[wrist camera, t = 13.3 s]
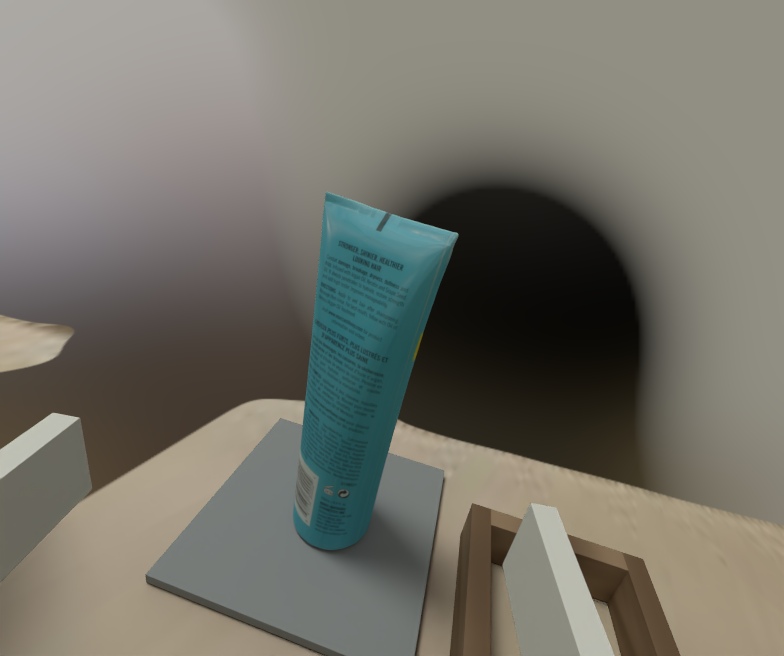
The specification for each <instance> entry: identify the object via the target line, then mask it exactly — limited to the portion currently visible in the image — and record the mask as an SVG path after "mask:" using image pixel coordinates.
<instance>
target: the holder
mask: <svg viewBox="0 0 784 656" xmlns="http://www.w3.org/2000/svg"><path fill="white" fill-rule="evenodd" d="M522 521H523V520H522V519H519V518H516V517H513V516H510V515H507V514H504V513H501V512H498V511H495V510H492V509H489V508H486V507H483V506H479V505H476V504H473V503H472V506H471V509H470V511H469V514H468V517H467V519H466V522H465V525H464V527H463V530H462V533H461V536H460V547H459V558H458V569H457V581H456V592H455V603H454V614H453V626H452V637H451V648H450V656H490V623H491V562H492V563H495V564H498V565H501V566H503V562H504V560H505V558H506V556H507V554H508V551H509V549H510V547H511V545H512V543H513V540H514V538H515V536H516V534H517V532H518V529H519V527H520V525H521V523H522ZM567 536H568V539H569V541H570V544H571V546H572V549H573V551H574V554H575V556H576V559H577V562H578V564H579V567H580V569H581V572H582V574H583V577H584V579H585V582H586V584H587V587H588V589H589V592H590V595H591V597H593V598H596V599H599V600H602V601H604V602H607V603H608V607H609V611H610V614H611V618H612V622H613V626H614V630H615V633H616V637H617V641H618V645H619V648H620V652H621V656H680V654H679V651H678V648H677V646H676V643H675V641H674V638H673V635H672V633H671V630H670V628H669V625H668V623H667V620H666V617H665V615H664V612H663V610H662V607H661V605H660V602H659V599H658V597H657V594H656V592H655V589H654V586H653V584H652V581H651V579H650V576H649V574H648V571H647V568H646V566H645V563H644V561H643V559H641V558H638V557H635V556H632V555H629V554H626V553H622V552H619V551H616V550H613V549H610V548H607V547H604V546H601V545H598V544H595V543H592V542H589V541H586V540H583V539H580V538H577V537H574V536H571V535H568V534H567Z"/></svg>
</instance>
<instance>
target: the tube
mask: <svg viewBox="0 0 784 656" xmlns="http://www.w3.org/2000/svg"><path fill="white" fill-rule="evenodd" d="M457 238H458V233H454V232H450V231H447V230H442V229H439V228H436V227H433V226H429V225H426V224H422V223H419V222H415V221H412V220H409V219H405V218H401V217H399V216H396V215H392V214H389V213H387V212H384V211H381V210H378V209H375V208H372V207H369V206H367V205H365V204H362V203H359V202H356V201H354V200H351V199H348V198H345V197H342V196H338V195H335V194H332V193H329V192H326V196H325V205H324V213H323V226H322V237H321V248H320V259H319V270H318V279H317V290H316V300H315V311H314V321H313V332H312V342H311V352H310V361H309V370H308V381H307V391H306V400H305V409H304V419H303V428H302V437H301V446H300V455H299V464H298V473H297V482H296V491H295V500H294V510H293V520H294V525H295V527H296V530H297V532H298V533H299V535H300V536H301V537H302V538H303V539H304V540H305V541H307V542H308V543H310V544H312V545H313V546H316V547H319V548H321V549H325V550H338V549H343V548H346V547H348V546H351V545H353V544H355V543H357V542H358V541H359V540H360V539H361V538H362V537H363V536H364V534H365V533H366V531H367V529H368V527H369V523H370V520H371V516H372V512H373V508H374V504H375V500H376V496H377V492H378V488H379V484H380V481H381V477H382V473H383V469H384V466H385V462H386V458H387V454H388V451H389V447H390V443H391V439H392V436H393V432H394V429H395V425H396V422H397V418H398V414H399V411H400V407H401V404H402V400H403V397H404V394H405V390H406V387H407V383H408V380H409V377H410V374H411V370H412V367H413V364H414V360H415V357H416V353H417V351H418V347H419V344H420V341H421V338H422V335H423V331H424V328H425V325H426V322H427V319H428V316H429V313H430V310H431V308H432V305H433V302H434V299H435V296H436V293H437V290H438V287H439V285H440V282H441V279H442V277H443V274H444V272H445V269H446V267H447V264H448V262H449V259H450V256H451V253H452V250H453V246H454V244H455V242H456V240H457Z"/></svg>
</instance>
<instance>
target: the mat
mask: <svg viewBox="0 0 784 656" xmlns="http://www.w3.org/2000/svg"><path fill="white" fill-rule="evenodd" d="M302 428H303V425H300V424H297V423H294V422H291V421H288V420H284V419H281V418H280V419H279V421H278V422H277V423H276V424H275V425H274V426H273V428H272V429H271V430H270V431H269V432H268V433H267V435H266V436H265V437H264V438H263V439H262V440H261V441H260V443H259V444H258V445H257V446H256V447H255V448H254V450H253V451H252V452H251V453H250V454H249V455H248V457H247V458H246V459H245V460H244V461H243V462H242V463H241V465H240V466H239V467H238V468H237V469H236V470H235V472H234V473H233V474H232V475H231V476H230V477H229V479H228V480H227V481H226V482H225V483H224V484H223V486H222V487H221V488H220V489H219V490H218V491H217V492H216V494H215V495H214V496H213V497H212V498H211V499H210V501H209V502H208V503H207V504H206V505H205V506H204V508H203V509H202V510H201V511H200V512H199V513H198V514H197V516H196V517H195V518H194V519H193V520H192V521H191V523H190V524H189V525H188V526H187V527H186V528H185V530H184V531H183V532H182V533H181V534H180V535H179V537H178V538H177V539H176V540H175V541H174V542H173V543H172V545H171V546H170V547H169V548H168V549H167V550H166V552H165V553H164V554H163V555H162V556H161V557H160V559H159V560H158V561H157V562H156V563H155V564H154V566H153V567H152V568H151V569H150V570H149V571H148V572H147V574H146V582H147V583H150V584H152V585H155V586H157V587H159V588H162V589H164V590H167V591H169V592H172V593H174V594H177V595H179V596H182V597H184V598H186V599H189V600H191V601H194V602H196V603H199V604H201V605H204V606H206V607H209V608H211V609H213V610H216V611H218V612H221V613H223V614H226V615H228V616H231V617H233V618H236V619H238V620H240V621H243V622H245V623H248V624H250V625H253V626H255V627H258V628H260V629H263V630H265V631H267V632H270V633H272V634H275V635H277V636H280V637H282V638H285V639H287V640H290V641H292V642H294V643H297V644H299V645H302V646H304V647H307V648H309V649H312V650H314V651H317V652H319V653H322V654H324V655H326V656H415V650H416V643H417V637H418V631H419V625H420V619H421V613H422V606H423V600H424V594H425V588H426V582H427V576H428V569H429V563H430V557H431V551H432V545H433V539H434V532H435V526H436V520H437V514H438V508H439V502H440V495H441V489H442V483H443V477H444V470H441V469H438V468H434V467H431V466H428V465H425V464H422V463H419V462H416V461H413V460H409V459H406V458H403V457H400V456H397V455H394V454H391V453H388V454H387V458H386V462H385V466H384V469H383V473H382V477H381V481H380V484H379V488H378V492H377V496H376V500H375V504H374V508H373V512H372V516H371V520H370V523H369V527H368V529H367V531H366V533H365V534H364V536H363V537H362V538H361V539H360V540H359V541H358V542H357V543H355V544H353V545H351V546H348V547H346V548H343V549H338V550H325V549H321V548H319V547H316V546H313V545H312V544H310V543H308V542H307V541H305V540H304V539H303V538H302V537H301V536H300V535H299V533H298V532H297V530H296V527H295V525H294V520H293V510H294V500H295V491H296V482H297V473H298V464H299V455H300V446H301V437H302Z"/></svg>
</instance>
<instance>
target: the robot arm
mask: <svg viewBox="0 0 784 656" xmlns="http://www.w3.org/2000/svg"><path fill="white" fill-rule="evenodd" d="M91 489H92V485H91V479H90V473H89V468H88V462H87V456H86V450H85V444H84V440H83V433H82V428H81V421H80V418H78V417H73V416H67V415H62V414H57V413H52V414H51V415H49V416H48V417H46V418H45V419H43V420H42V421H41V422H39V423H38V424H37V425H35V426H34V427H32V428H31V429H29V430H28V431H26V432H25V433H23V434H22V435H21V436H19V437H18V438H16V439H15V440H13V441H12V442H11V443H9V444H8V445H6V446H5V447H3V448H2V449H1V450H0V582H1V581H2V580H3V579H4V578H5V577H6V576H7V575H8V574H9V573H10V572H11V571H12V570H13V569H14V568H15V567H16V566H17V565H18V564H19V563H20V562H21V561H22V560H23V559H24V558H25V557H26V556H27V555H28V554H29V553H30V552H31V551H32V550H33V549H34V547H35V546H36V545H37V544H38V543H39V542H40V541H41V540H42V539H43V538H44V537H45V536H46V535H47V534H48V533H49V532H50V531H51V530H52V529H53V528H54V527H55V526H56V525H57V524H58V523H59V522H60V521H61V520H62V519H63V518H64V517H65V516H66V515H67V514H68V513H69V512H70V511H71V510H72V509H73V508H74V507H75V506H76V505H77V504H78V503H79V502H80V501H81V500H82V499H83V498H84V497H85V496H86V495H87V494H88V492H90V490H91ZM503 570H504V575H505V580H506V585H507V590H508V595H509V599H510V604H511V609H512V614H513V619H514V624H515V628H516V633H517V638H518V643H519V648H520V653H521V656H614V653H613V650H612V648H611V645H610V643H609V640H608V638H607V635H606V633H605V630H604V628H603V625H602V622H601V620H600V617H599V615H598V612H597V610H596V607H595V605H594V602H593V600H592V597H591V595H590V592H589V589H588V587H587V584H586V582H585V579H584V577H583V574H582V572H581V569H580V567H579V564H578V562H577V559H576V556H575V554H574V551H573V549H572V546H571V544H570V541H569V539H568V536H567V534H566V531H565V529H564V526H563V523H562V521H561V518H560V516H559V513H558V511H557V508H555V507H550V506H545V505H539V504H534V503H530V505H529V507H528V510H527V512H526V514H525V516H524V518H523V521H522V523H521V525H520V527H519V529H518V532H517V534H516V536H515V538H514V540H513V543H512V545H511V547H510V549H509V551H508V554H507V556H506V558H505V560H504V562H503Z"/></svg>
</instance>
